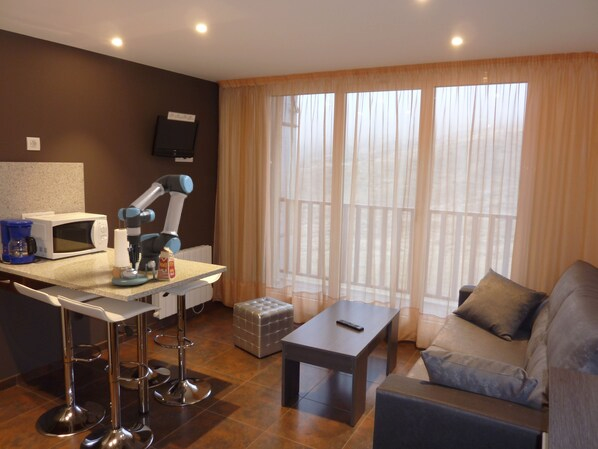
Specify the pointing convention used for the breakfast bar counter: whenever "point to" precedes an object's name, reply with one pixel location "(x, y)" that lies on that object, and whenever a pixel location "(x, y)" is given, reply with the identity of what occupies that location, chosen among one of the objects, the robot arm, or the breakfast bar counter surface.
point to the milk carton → (166, 265)
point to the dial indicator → (152, 265)
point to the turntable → (120, 281)
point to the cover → (130, 274)
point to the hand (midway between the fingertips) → (134, 273)
